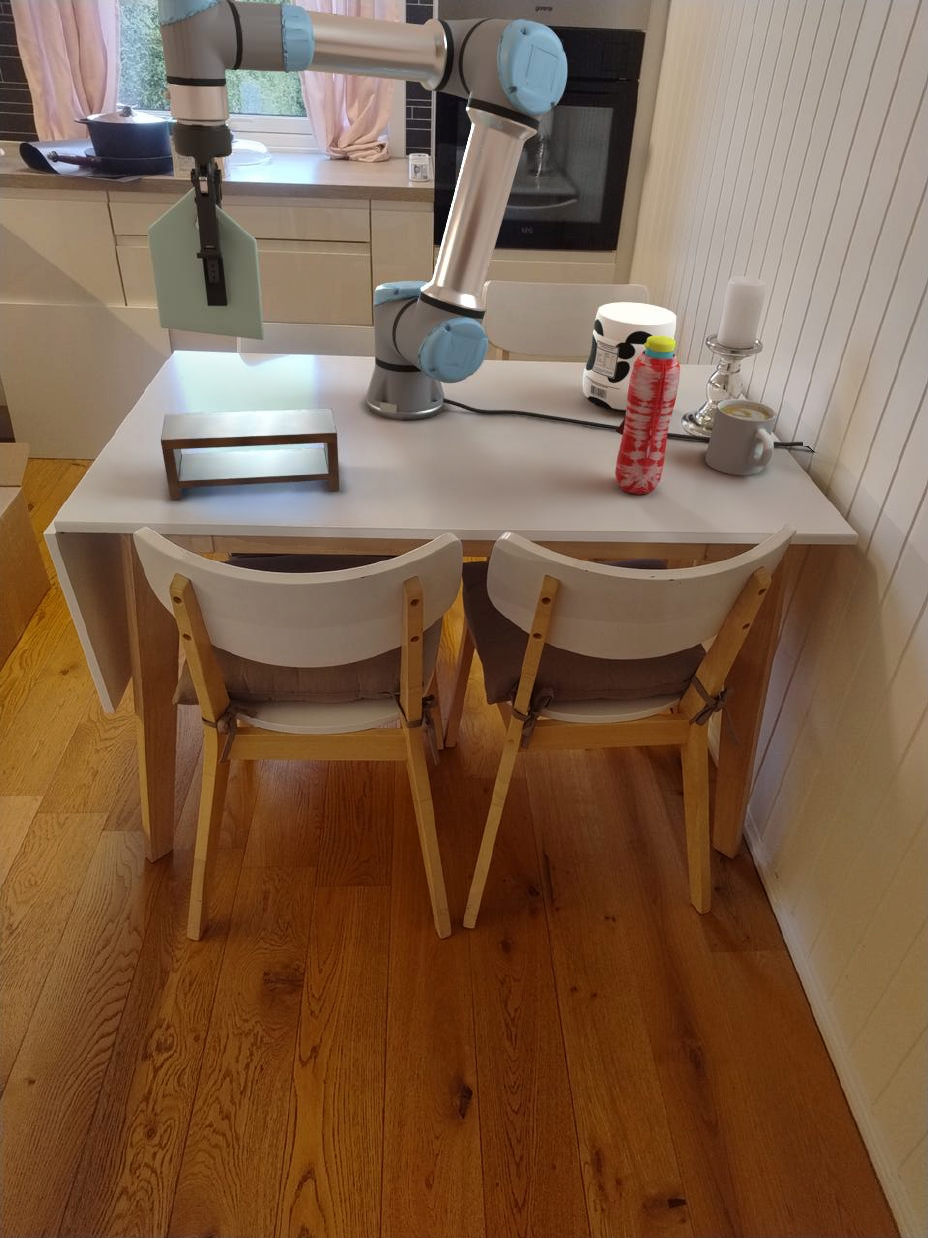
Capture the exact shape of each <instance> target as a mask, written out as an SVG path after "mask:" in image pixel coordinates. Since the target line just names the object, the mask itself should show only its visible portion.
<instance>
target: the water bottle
mask: <svg viewBox="0 0 928 1238" xmlns="http://www.w3.org/2000/svg"><path fill="white" fill-rule="evenodd" d="M676 344H677V341H676V340H675V338H674V339H673V338H670V337H667V336H660V335H659V336H650V337H648V338H647V342H646V343H644V347H645V348H646V350H645V351H643V352H642V354H641V355H640V356H639V357H638V358H637V360H636V361H635V362H634V365H633V370H632V374H631V377H630V382H629V388H628V394H627V406H626V413H625V417H624V418H623V420H622V422H621V423H620V424H619V425H618V426H619V427H618V429H617V430H615V433H618V434H619V435H621V440H620V444H619V449H618V453H617V457H616V464H615V472H614V474H615V480H616V483H617V486H618V487H619V488H620V489H621V490H622V491H624V492H626V493H629V494H632V495H633V494H634V495H647V494H650V493H651V492H653V491H655V489H656V488H657V487H658V485H659V483H660V482H661V478H662V473H663V469H664V464H665V457H666V448H667V441H668V440H667V439H668V437H667V433H669V428H670V427H669V426H670V423H671V418H672V415H673V411H674V408H675V405H676V400H677V395H678V390H679V385H680V373H681V366H680V362H679V361H678V358H677V355H676V354H675V348H676Z"/></svg>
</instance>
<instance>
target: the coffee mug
mask: <svg viewBox="0 0 928 1238" xmlns="http://www.w3.org/2000/svg"><path fill="white" fill-rule="evenodd" d="M776 418H777V411H776V410H775V409H774V408H773V407H771V406H770V405H767V404H765V403H762V402H759V401H756V400H752V399H744V398H730V399H729V398H728V399H724V400H721V401H720V402H718V404H717V406H716V410H715V414H714V419H713V423H712V427H711V432H710V436H709V437H710V440H709V441H708V445H707V450H706V455H705V462H706V464H707V465H708V466H709V467H710V468H712V469H714V470H716V471H718V472H721V473H723V474H728V475H732V476H752V475H756V474H759V473H760V472H761V471H762V470H763V468H764V467H765V466H767V465H768V464H769V463H770V461H771V459H772V456H773V453H774V448H775V446H774V443H773V442H774V439H773V437H772V433H773V429H774V426H775V422H776Z"/></svg>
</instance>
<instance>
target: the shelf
mask: <svg viewBox="0 0 928 1238" xmlns="http://www.w3.org/2000/svg"><path fill="white" fill-rule="evenodd" d="M307 444H308V445H309V444H323V447H309V448H285V449H283V448H282V449H265V450H261V449H260V450H241V451H240V450H239V451H238V450H237V451H220V452H219V451H217V452H216V451H215V452H194V453H193V452H192V453H183V452H182V450H191V449H192V450H194V449H216V448H217V449H219V448H237V447H239V448H240V447H259V446H260V447H261V446H284V445H287V446H288V445H307ZM160 446H161V451H162V457H163V458H162V459H163V463H164V469H165V475H166V476H165V477H166V483H167V486H168V487H167V488H168V493H169V498H170V501H181V500H182V497H183V489H188V488H190V489H191V488H208V487H209V488H210V487H225V486H226V487H227V486H228V487H229V486H245V485H247V486H249V485H267V484H286V483H289V484H290V483H306V482H307V483H308V482H324V481H325V482H326V481H327V486H328V490H329V492H330V493H332V492H333V493H334V492H340V490H341V489H340V468H339V446H338V431H337V425H336V422H335V416H334V412H333V408H306V409H305V408H303V409H279V410H275V409H274V410H248V411H222V412H219V411H218V412H196V413H195V412H194V413H193V412H192V413H191V412H190V413H166V414H164V420H163V426H162V431H161V436H160Z"/></svg>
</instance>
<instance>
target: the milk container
mask: <svg viewBox="0 0 928 1238" xmlns="http://www.w3.org/2000/svg"><path fill="white" fill-rule="evenodd" d="M676 328H677V315H676V314H675V313H674V312H673V311H671V310H669V309H667V308H665V307H661V306H658V305H654V304H649V303H642V302H629V301H621V302H619V301H618V302H611V303H605V304H603V305H600V306H599V307H598V309H597V312H596V314H595V319H594V325H593V331H592V338H591V348H590V354H589V357H588V360H587V362H586V364H585V366H584V369H583V374H582V391H583V395H584V397H585V398H586V400H588V401H589V402H590V403H592V404H593V405H594V406H596V407H598V408H601V409H604V410H608V411H612V412H617V413H623V414H626V406H627V394H628V388H629V382H630V377H631V374H632V370H633V365H634V362H635V361H636V360H637V358H638V357H639V356H640V355H641V354H642V352H643V351H645V350H646V348H645V347H644V343H646V342H647V338H648V337H650V336H659V335H660V336H667V337H670V338H673V339H674V340H675V334H676Z"/></svg>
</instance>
